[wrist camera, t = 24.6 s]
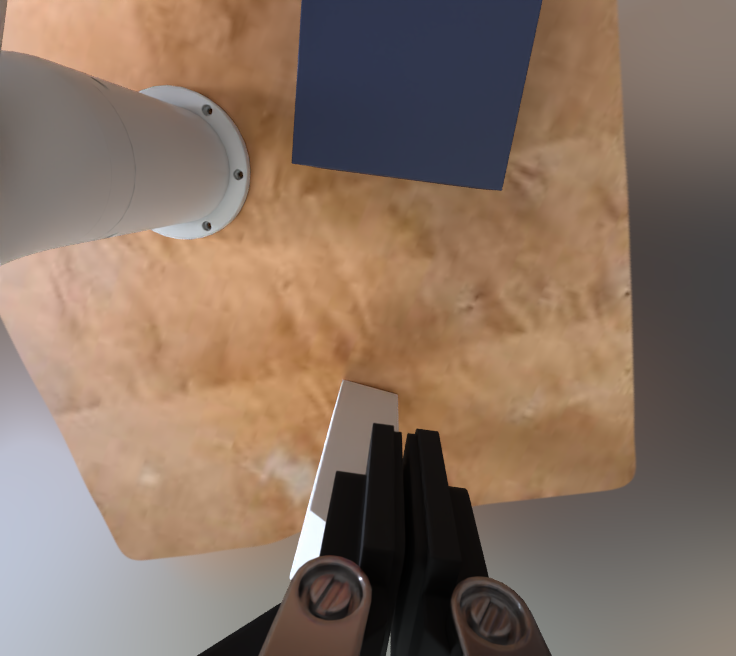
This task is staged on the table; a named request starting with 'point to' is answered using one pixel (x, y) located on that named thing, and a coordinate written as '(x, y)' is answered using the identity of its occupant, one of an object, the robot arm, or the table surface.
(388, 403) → the milk
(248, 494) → the table surface
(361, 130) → the lid
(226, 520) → the table surface
